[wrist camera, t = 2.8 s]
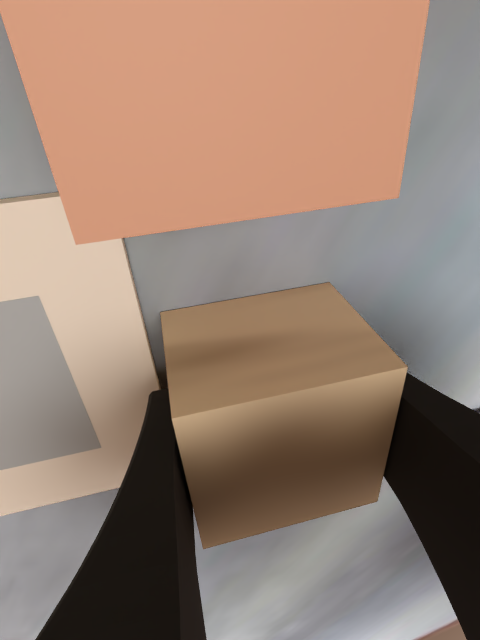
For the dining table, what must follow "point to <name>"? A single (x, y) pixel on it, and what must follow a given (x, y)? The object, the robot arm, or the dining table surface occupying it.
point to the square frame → (66, 359)
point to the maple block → (279, 408)
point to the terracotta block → (217, 106)
